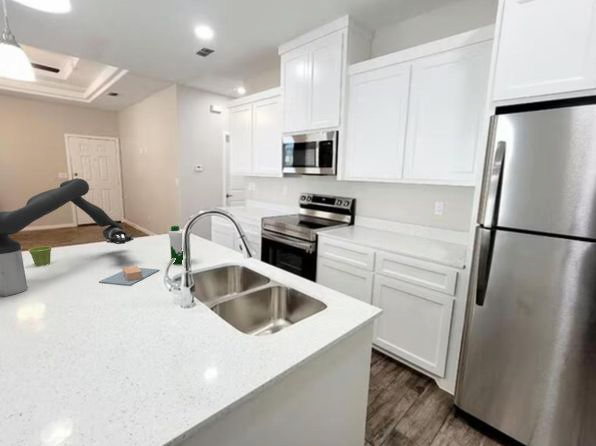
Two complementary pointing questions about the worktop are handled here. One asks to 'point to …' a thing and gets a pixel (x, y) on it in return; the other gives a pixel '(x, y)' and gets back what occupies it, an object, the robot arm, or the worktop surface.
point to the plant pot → (41, 255)
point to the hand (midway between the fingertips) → (123, 241)
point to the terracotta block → (132, 273)
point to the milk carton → (176, 244)
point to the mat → (121, 279)
